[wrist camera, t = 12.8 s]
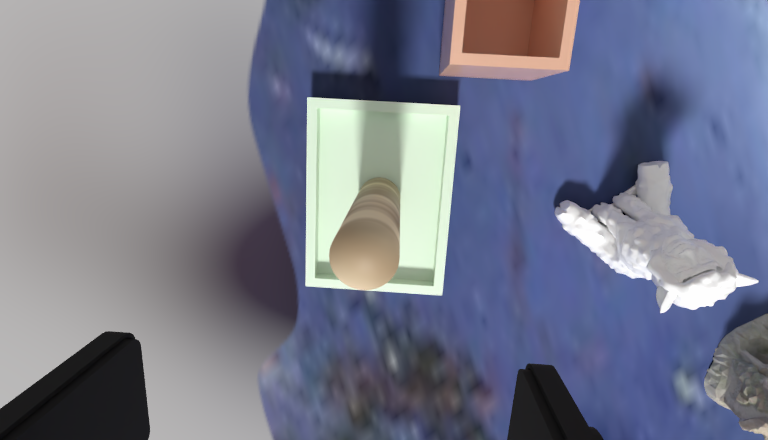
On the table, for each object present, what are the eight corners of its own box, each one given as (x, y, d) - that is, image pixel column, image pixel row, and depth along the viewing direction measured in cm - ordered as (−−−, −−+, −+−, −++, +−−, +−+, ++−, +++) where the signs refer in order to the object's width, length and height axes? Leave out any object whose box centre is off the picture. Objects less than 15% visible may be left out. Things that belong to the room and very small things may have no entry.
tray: (312, 98, 35) (307, 97, 33) (457, 106, 34) (460, 105, 32) (310, 277, 39) (305, 286, 37) (440, 286, 38) (441, 295, 36)
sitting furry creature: (655, 152, 35) (781, 171, 23) (690, 239, 36) (826, 298, 25) (548, 206, 36) (617, 249, 25) (587, 287, 38) (669, 364, 26)
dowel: (359, 176, 35) (329, 221, 21) (401, 178, 35) (401, 225, 21) (357, 217, 36) (328, 287, 22) (399, 219, 36) (397, 292, 22)
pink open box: (447, -26, 32) (461, -71, 24) (544, -22, 32) (589, -65, 24) (438, 75, 34) (449, 64, 26) (530, 80, 34) (568, 70, 26)
